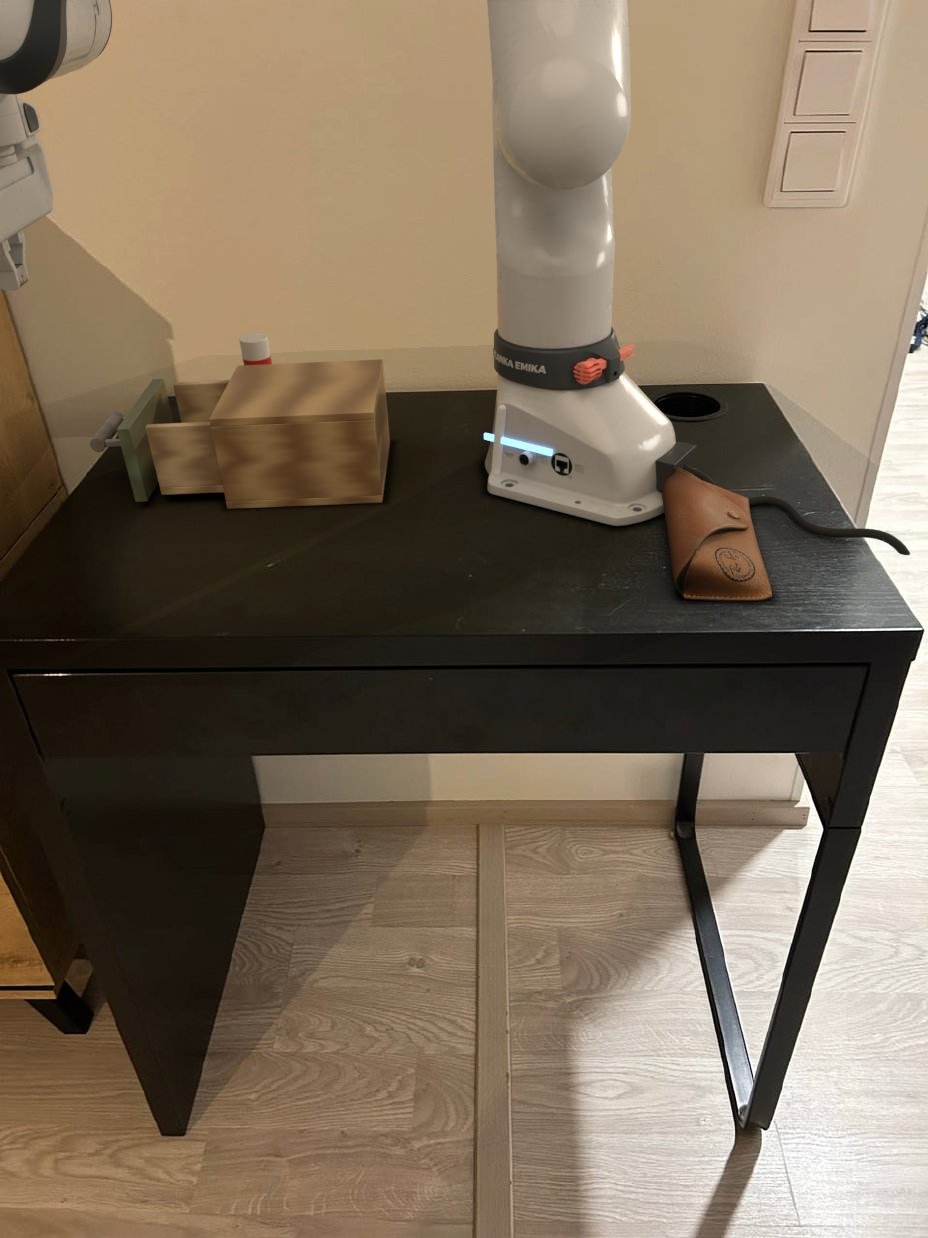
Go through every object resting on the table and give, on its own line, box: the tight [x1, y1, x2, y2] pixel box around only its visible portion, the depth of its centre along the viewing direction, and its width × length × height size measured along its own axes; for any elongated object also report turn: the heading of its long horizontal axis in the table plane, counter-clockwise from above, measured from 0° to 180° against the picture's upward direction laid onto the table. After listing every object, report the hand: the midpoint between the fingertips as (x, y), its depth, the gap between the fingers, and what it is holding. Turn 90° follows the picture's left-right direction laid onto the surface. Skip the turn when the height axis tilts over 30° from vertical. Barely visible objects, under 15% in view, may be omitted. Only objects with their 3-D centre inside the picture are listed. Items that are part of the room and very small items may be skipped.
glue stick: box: [238, 332, 273, 365], centre depth 111 cm, size 3×3×10 cm
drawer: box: [89, 378, 230, 503], centre depth 99 cm, size 19×13×8 cm
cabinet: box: [209, 358, 391, 510], centre depth 99 cm, size 16×15×10 cm
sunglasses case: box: [662, 468, 773, 603], centre depth 85 cm, size 18×7×7 cm
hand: (15, 286), depth 90 cm, fingers closed
